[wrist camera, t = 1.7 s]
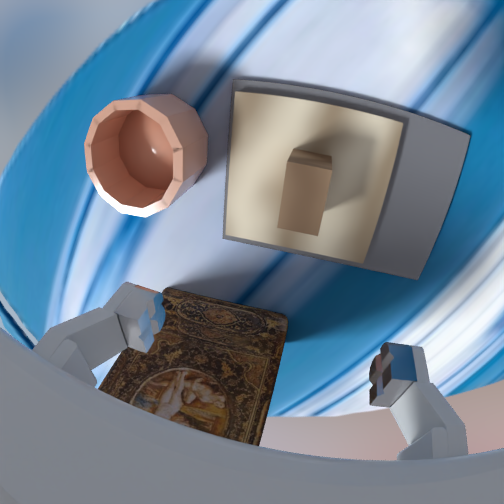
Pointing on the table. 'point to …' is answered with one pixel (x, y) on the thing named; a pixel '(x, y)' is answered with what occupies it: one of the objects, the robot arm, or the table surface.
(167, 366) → the book
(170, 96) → the bowl
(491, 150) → the table surface
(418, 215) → the mat
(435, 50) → the table surface
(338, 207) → the board
